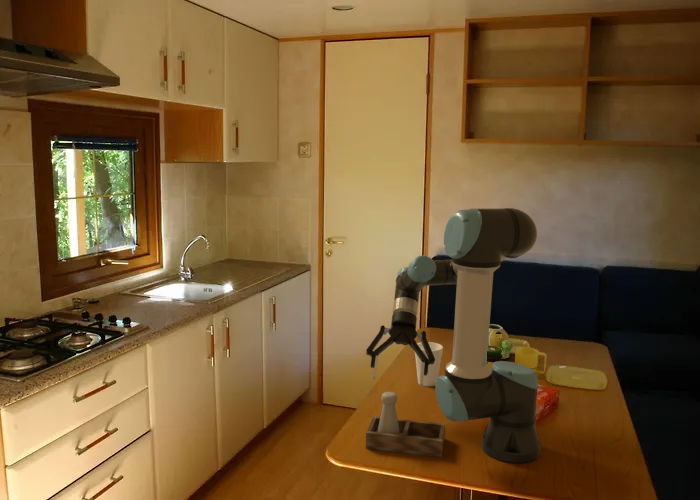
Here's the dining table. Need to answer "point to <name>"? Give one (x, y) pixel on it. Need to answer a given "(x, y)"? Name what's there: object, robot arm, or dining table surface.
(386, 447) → the wooden compartment tray
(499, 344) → the turtle holder
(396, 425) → the salt shaker
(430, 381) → the foam cup
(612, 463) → the dining table surface
